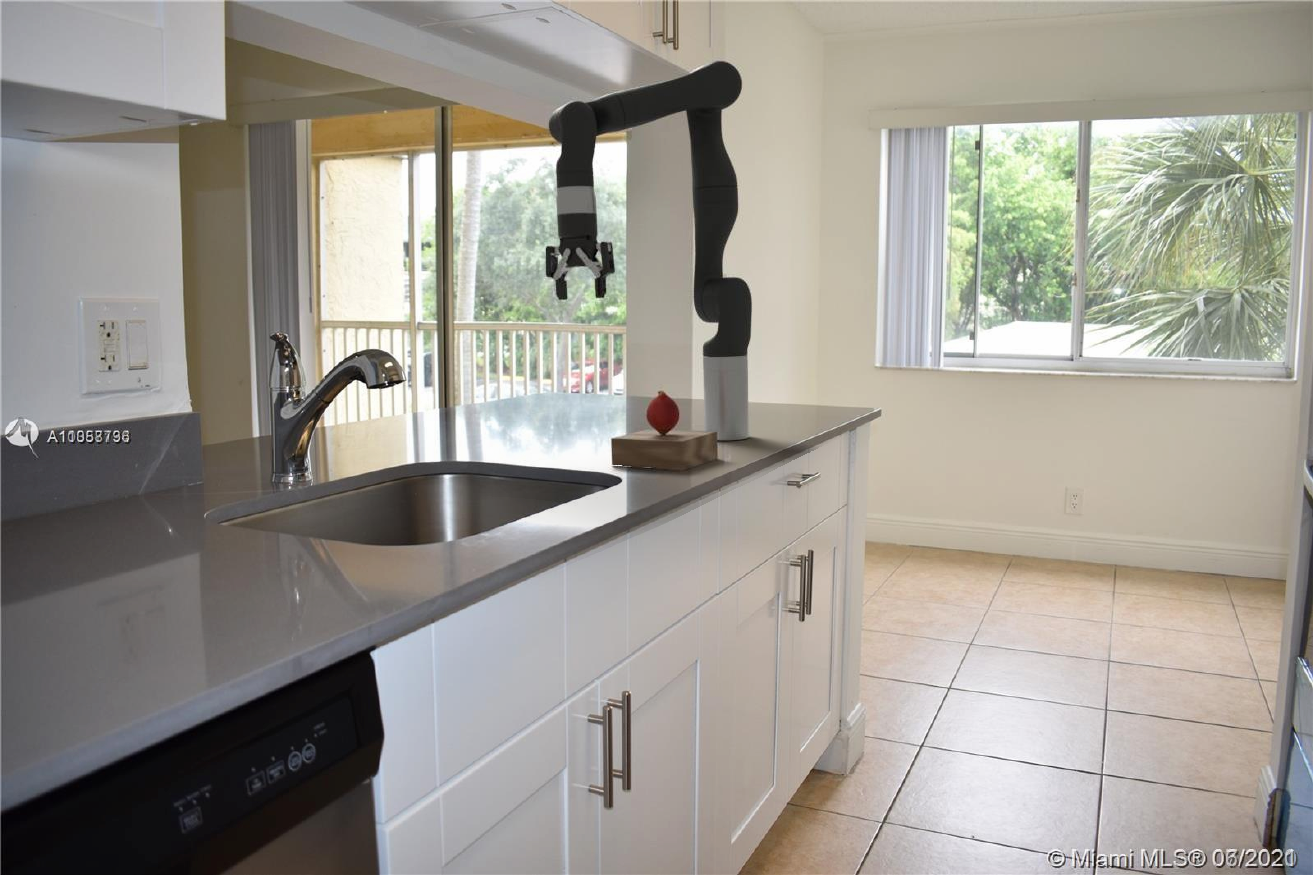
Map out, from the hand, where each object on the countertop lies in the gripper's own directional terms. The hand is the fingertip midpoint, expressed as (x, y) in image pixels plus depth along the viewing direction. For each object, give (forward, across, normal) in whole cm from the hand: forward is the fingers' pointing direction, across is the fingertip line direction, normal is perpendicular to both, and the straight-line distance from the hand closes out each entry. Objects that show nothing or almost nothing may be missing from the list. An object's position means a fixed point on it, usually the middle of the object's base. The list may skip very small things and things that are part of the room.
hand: (581, 298), depth 191 cm
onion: (+25, -21, +7) cm, 33 cm away
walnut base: (+30, -21, +7) cm, 37 cm away
